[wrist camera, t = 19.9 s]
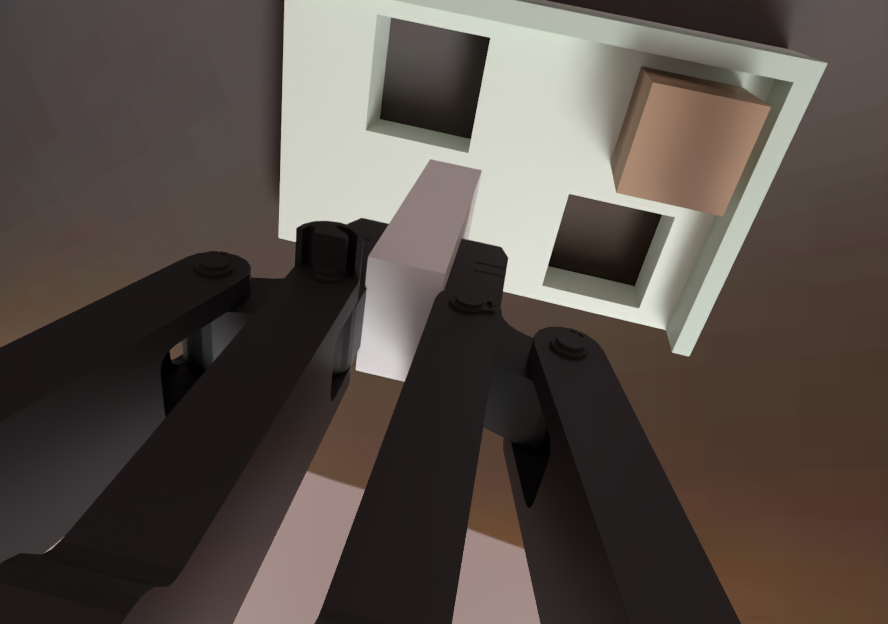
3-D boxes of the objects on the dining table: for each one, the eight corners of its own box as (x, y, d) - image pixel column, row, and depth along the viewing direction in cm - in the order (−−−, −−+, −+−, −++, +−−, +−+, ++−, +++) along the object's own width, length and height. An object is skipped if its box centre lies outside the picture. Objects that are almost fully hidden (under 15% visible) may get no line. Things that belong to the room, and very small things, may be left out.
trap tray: (296, 221, 41) (261, 253, 36) (308, -48, 33) (264, -51, 28) (674, 310, 39) (689, 356, 34) (788, 49, 31) (827, 63, 26)
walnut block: (610, 163, 32) (616, 192, 28) (641, 66, 30) (653, 82, 25) (702, 183, 32) (722, 216, 28) (742, 87, 29) (771, 106, 25)
